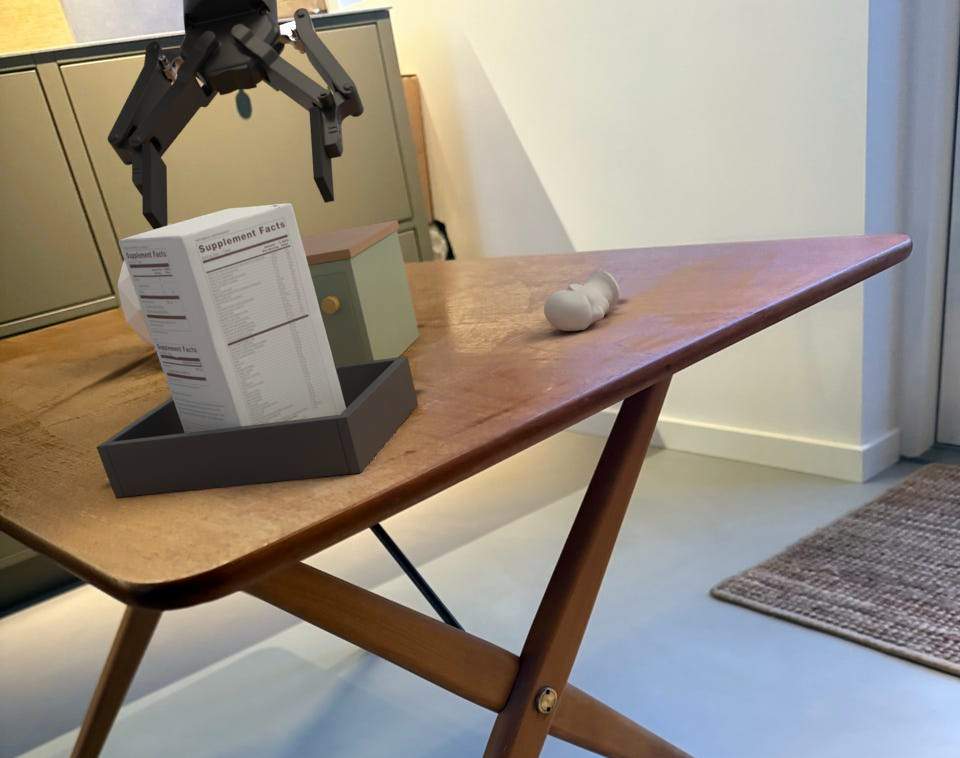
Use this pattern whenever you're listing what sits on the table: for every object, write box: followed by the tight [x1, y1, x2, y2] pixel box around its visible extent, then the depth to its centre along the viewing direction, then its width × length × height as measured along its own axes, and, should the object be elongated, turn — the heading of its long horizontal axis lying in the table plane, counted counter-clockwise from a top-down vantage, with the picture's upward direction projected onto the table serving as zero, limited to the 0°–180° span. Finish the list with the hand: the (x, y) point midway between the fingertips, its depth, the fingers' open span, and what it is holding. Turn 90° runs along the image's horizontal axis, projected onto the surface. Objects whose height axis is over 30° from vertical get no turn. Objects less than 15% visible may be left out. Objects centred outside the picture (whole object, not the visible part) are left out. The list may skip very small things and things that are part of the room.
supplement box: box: [118, 202, 346, 433], centre depth 75 cm, size 10×9×17 cm
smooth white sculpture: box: [543, 269, 621, 332], centre depth 95 cm, size 4×8×5 cm
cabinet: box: [301, 219, 420, 366], centre depth 97 cm, size 12×15×11 cm
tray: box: [96, 355, 419, 498], centre depth 78 cm, size 20×15×4 cm
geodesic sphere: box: [116, 222, 173, 348], centre depth 116 cm, size 15×14×14 cm
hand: (238, 208), depth 79 cm, fingers open, 13 cm apart
